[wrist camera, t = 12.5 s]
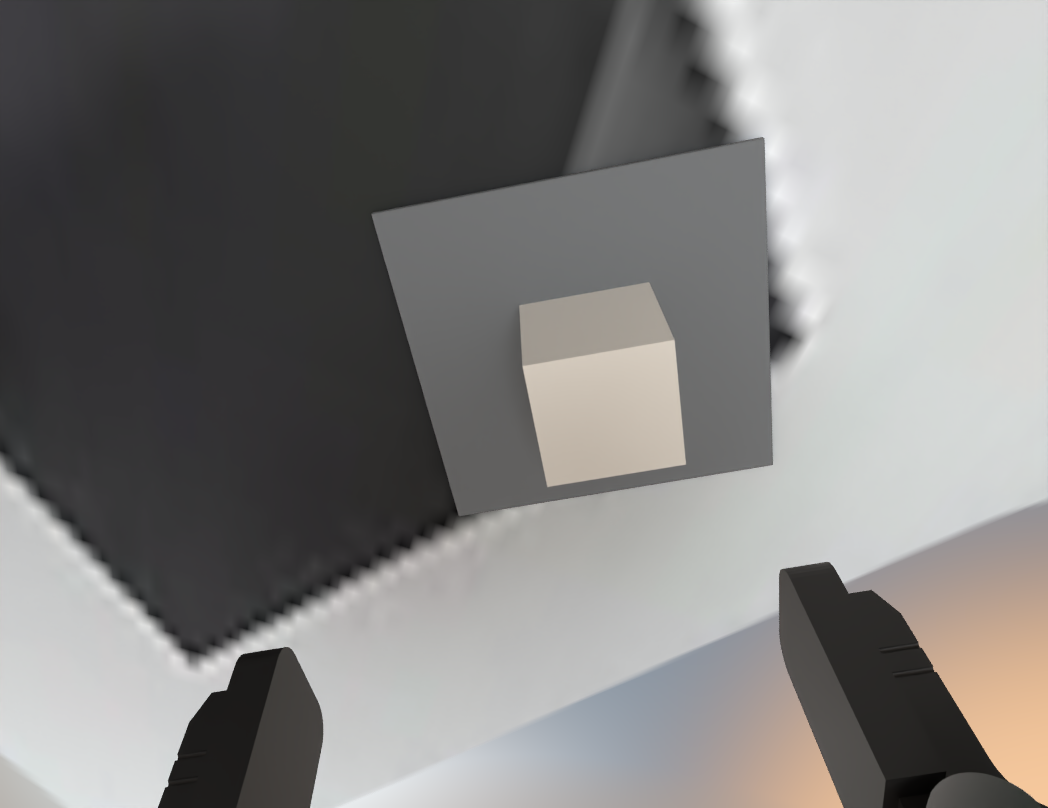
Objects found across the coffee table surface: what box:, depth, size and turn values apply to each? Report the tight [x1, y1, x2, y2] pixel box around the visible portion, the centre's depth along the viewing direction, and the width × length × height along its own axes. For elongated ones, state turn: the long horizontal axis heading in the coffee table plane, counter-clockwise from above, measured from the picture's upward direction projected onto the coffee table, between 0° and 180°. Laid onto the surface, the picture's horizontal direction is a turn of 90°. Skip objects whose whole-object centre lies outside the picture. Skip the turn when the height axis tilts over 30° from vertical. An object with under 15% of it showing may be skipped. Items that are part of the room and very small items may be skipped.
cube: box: [519, 282, 686, 487], centre depth 29 cm, size 5×5×5 cm
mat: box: [371, 137, 773, 516], centre depth 31 cm, size 14×14×1 cm
